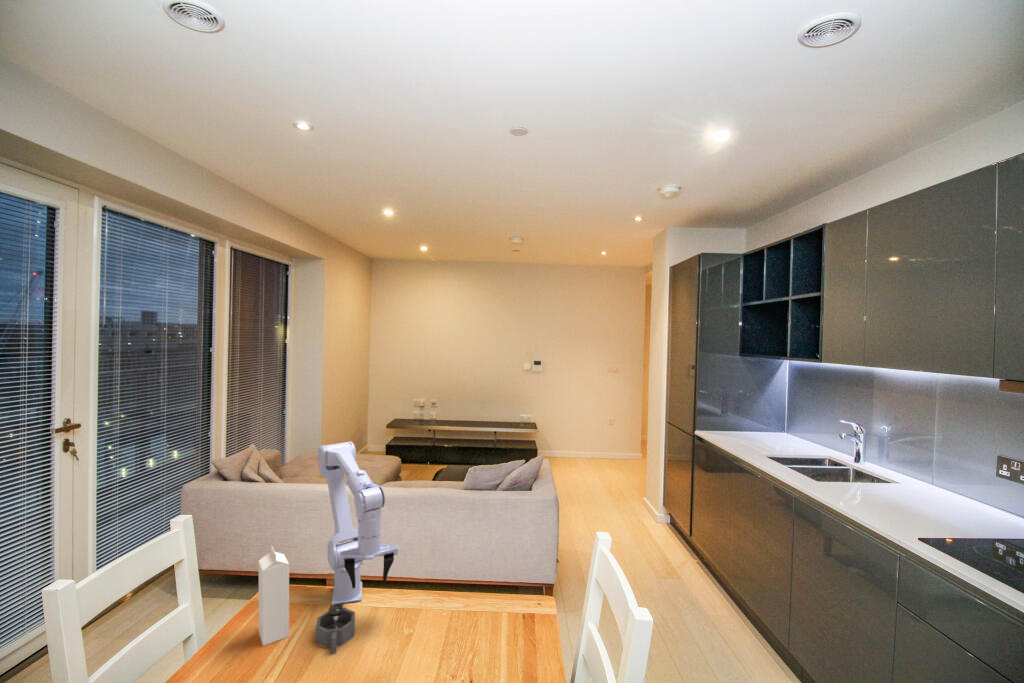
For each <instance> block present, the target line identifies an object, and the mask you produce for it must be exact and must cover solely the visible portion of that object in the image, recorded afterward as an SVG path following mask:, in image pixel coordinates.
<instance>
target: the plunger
mask: <svg viewBox="0 0 1024 683" xmlns="http://www.w3.org/2000/svg"><path fill="white" fill-rule="evenodd" d="M343 608H344V605H343V603H341V604H334V605H332V604H331V605H330V606H329V608H328V611H329V615H330V616H333V617H334V624H331V625H329V626H328V627H326V629H328V630H330V629H336V628H342V627H343V626H344V625H346V624H345V623H338V616H339V615H341V614H342V613H343Z"/></svg>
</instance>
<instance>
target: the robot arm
mask: <svg viewBox="0 0 1024 683" xmlns="http://www.w3.org/2000/svg"><path fill="white" fill-rule="evenodd" d="M356 454H357V451H356V445H355V444H354V443H353V441H350V440H348V441H346V442H339V443H333V444H332V443H331V444H327V445H326V444H325V445H319V447H318V449H317V454H316V455H317V456H316V458H317V464H318V466H317V467H318V471H319V474H320V476H323V477H325V479H326V484H327V486H328V494H329V499H330V501H329V502H330V506H331V511H332V517H333V525H334V529H335V530H334V531H335V533H334V534H333V535H332V536H331V538H330V539H329V541H328V542H327V562H328V565H329V568H331V569H332V570H334V571H333V572H334V573H333V574H334V575H333V579H334V580H333V583H334V584H333V585H334V586H333V592H332V599H331V606H332V605H334V604H347V603H355V602H360V601H362V599H363V596H362V595H363V581H361V579H362V578H361V577H362V576H361V574H362V572H361V567H362V565H363V562H364V561H371V560H373V559H374V558H375V557H376V558H377V557H383V570H382V572H383V573H382V585H386V584H387V578H388V575H389V571H390V569H391V567H392V565H393V563H394V560H395V557H394V556H398V554H399V546H398V545H397V544H394V545H393V544H390V545H388V544H381V543H382V542H381V540H382V538H381V537H382V536H381V535H382V534H381V533H382V526H381V525H382V522H381V521H382V519H381V518H382V509H383V508H384V507H385V506H386V504H385V503H386V496H385V491H384V489H383V488H382V486H381V485H378V484H377V483H376V484H374V482H373V481H372V479H371V478H370V477H369V475H368V473H367V472H366V471H365V470H364V469H360V468H359V465H358V463H357V462H356V456H357V455H356ZM344 476H346V477H347V478H346V481H345V477H344ZM346 485H347V487H348V489H349V490H350V492H351V494H352V496H353V497H354V498H353V500H354V507H355V515H356V518H357V525H358V526H357V529H355V528H354V526H353V520H352V515H351V509H350V503H349V498H348V491H347V487H346ZM349 540H350V541H349ZM360 589H361V590H360Z"/></svg>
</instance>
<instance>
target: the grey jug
mask: <svg viewBox="0 0 1024 683" xmlns="http://www.w3.org/2000/svg"><path fill="white" fill-rule="evenodd" d="M355 621H356V612H355V611H353V610H351V609H348V607H347V608H346V607H343V613H342V614H341V615H339V616H338V623H345V624H346V625H344V626H343V627H342V628H336V629H330V630H328V629H326V627H328V626H329V625H331V624H334V617H333V616H330V615H329V610H327V611H325V612H324V613H322V614H321V615H320V616H318V617H317V619H316V627H315V644H318V645H319V646H322V647H324V648H326V649H327V648H328V649H329V648H330V653H331V654H334V653H337V652H338V647H340V646H344V645H345V644H346V643H347V642H349V641H350V640H351V639H353V638H354V637H355V629H356V624H355V623H356V622H355Z"/></svg>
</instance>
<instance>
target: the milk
mask: <svg viewBox="0 0 1024 683" xmlns="http://www.w3.org/2000/svg"><path fill="white" fill-rule="evenodd" d="M270 546H271V548H270V550H271V551H269V552H268V553H267V554H266V555H264V556H263V557H261V558H260V559H259V560H258V634H259V638H260V641H261V644H262V646H263V647H264V646H267V645H269V644H271V643H272V644H273V643H275V642H278V641H280V640H284V639H286V638H288V637H290V563H289V561H288V559H287V557H286V556H285V554H284V553H280V552H278V551H276V550H274V547H273V545H270Z"/></svg>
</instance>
